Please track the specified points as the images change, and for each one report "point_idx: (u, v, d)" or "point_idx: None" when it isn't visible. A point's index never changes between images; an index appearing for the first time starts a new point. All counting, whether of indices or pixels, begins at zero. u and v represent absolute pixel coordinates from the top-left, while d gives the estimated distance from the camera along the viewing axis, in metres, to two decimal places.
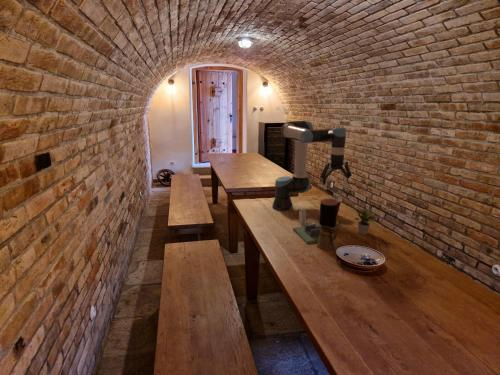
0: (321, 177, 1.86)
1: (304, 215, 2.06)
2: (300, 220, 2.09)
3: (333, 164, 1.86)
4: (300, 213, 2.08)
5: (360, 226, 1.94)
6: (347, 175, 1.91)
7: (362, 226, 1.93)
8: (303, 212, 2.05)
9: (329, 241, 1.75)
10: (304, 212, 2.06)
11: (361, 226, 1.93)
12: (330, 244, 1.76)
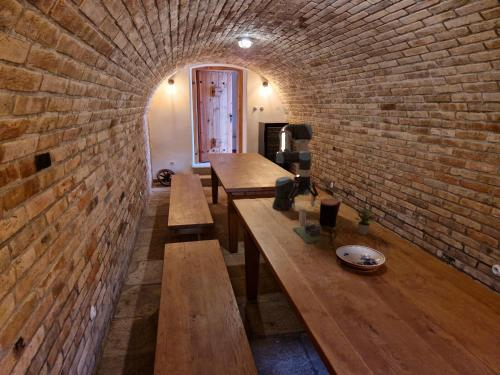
0: (289, 197, 2.01)
1: (304, 215, 2.06)
2: (300, 220, 2.09)
3: (300, 185, 2.00)
4: (300, 213, 2.08)
5: (360, 226, 1.94)
6: (314, 195, 2.05)
7: (362, 226, 1.93)
8: (303, 212, 2.06)
9: (329, 241, 1.75)
10: (304, 212, 2.06)
11: (361, 226, 1.93)
12: (330, 244, 1.76)
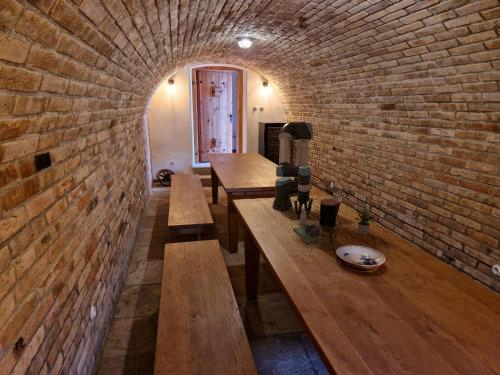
0: (295, 213, 2.06)
1: (304, 215, 2.06)
2: None
3: (300, 199, 2.03)
4: None
5: (360, 226, 1.94)
6: (307, 212, 2.07)
7: (362, 226, 1.93)
8: (303, 212, 2.06)
9: (329, 241, 1.75)
10: (304, 212, 2.06)
11: (361, 226, 1.93)
12: (330, 244, 1.76)
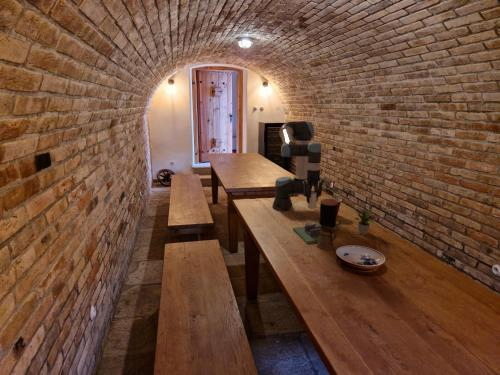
0: (305, 196, 1.86)
1: (314, 197, 1.87)
2: None
3: (309, 179, 1.84)
4: None
5: (360, 226, 1.94)
6: (317, 194, 1.88)
7: (362, 226, 1.93)
8: (313, 194, 1.86)
9: (329, 241, 1.75)
10: (314, 194, 1.86)
11: (361, 226, 1.93)
12: (330, 244, 1.76)
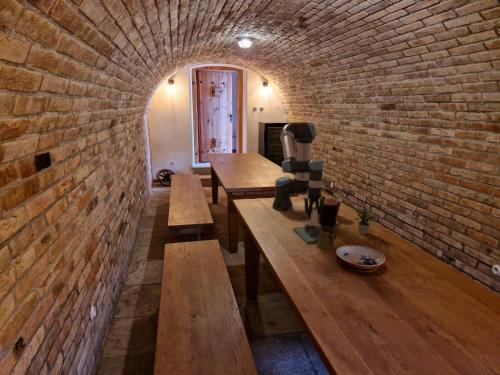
0: (306, 212, 1.86)
1: (315, 214, 1.87)
2: None
3: (310, 196, 1.84)
4: (311, 212, 1.88)
5: (360, 226, 1.94)
6: (318, 211, 1.88)
7: (362, 226, 1.93)
8: (314, 211, 1.86)
9: (329, 241, 1.75)
10: (315, 211, 1.86)
11: (361, 226, 1.93)
12: (330, 244, 1.76)
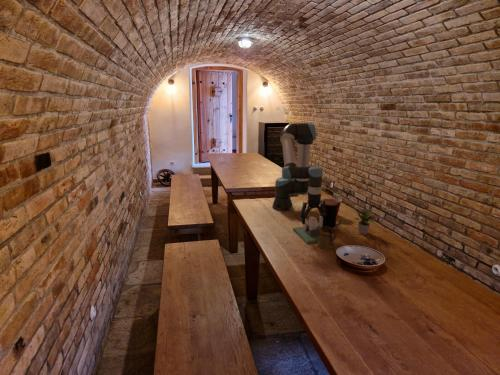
0: (300, 217, 1.86)
1: (315, 223, 1.89)
2: (310, 229, 1.91)
3: (310, 203, 1.85)
4: (310, 221, 1.90)
5: (360, 226, 1.94)
6: (323, 215, 1.90)
7: (362, 226, 1.93)
8: (314, 220, 1.88)
9: (329, 241, 1.75)
10: (315, 220, 1.88)
11: (361, 226, 1.93)
12: (330, 244, 1.76)
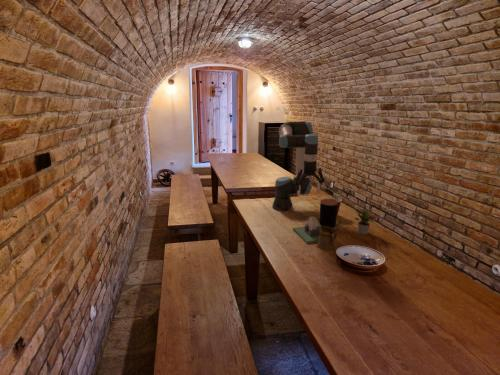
0: (294, 183, 1.89)
1: (315, 223, 1.89)
2: (310, 229, 1.91)
3: (306, 170, 1.88)
4: (310, 221, 1.90)
5: (360, 226, 1.94)
6: (320, 181, 1.94)
7: (362, 226, 1.93)
8: (314, 220, 1.88)
9: (329, 241, 1.75)
10: (315, 220, 1.88)
11: (361, 226, 1.93)
12: (330, 244, 1.76)
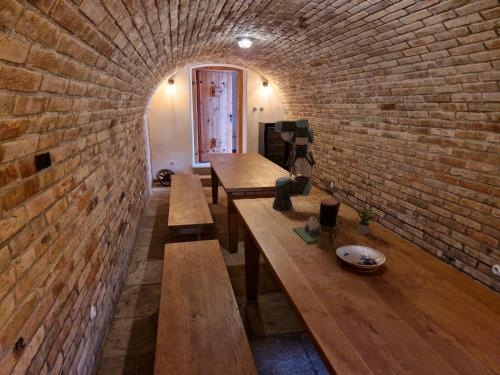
0: (286, 165, 2.01)
1: (315, 223, 1.89)
2: (310, 229, 1.91)
3: (297, 153, 2.00)
4: (310, 221, 1.90)
5: (360, 226, 1.94)
6: (311, 163, 2.05)
7: (362, 226, 1.93)
8: (314, 220, 1.88)
9: (329, 241, 1.75)
10: (315, 220, 1.88)
11: (361, 226, 1.93)
12: (330, 244, 1.76)
